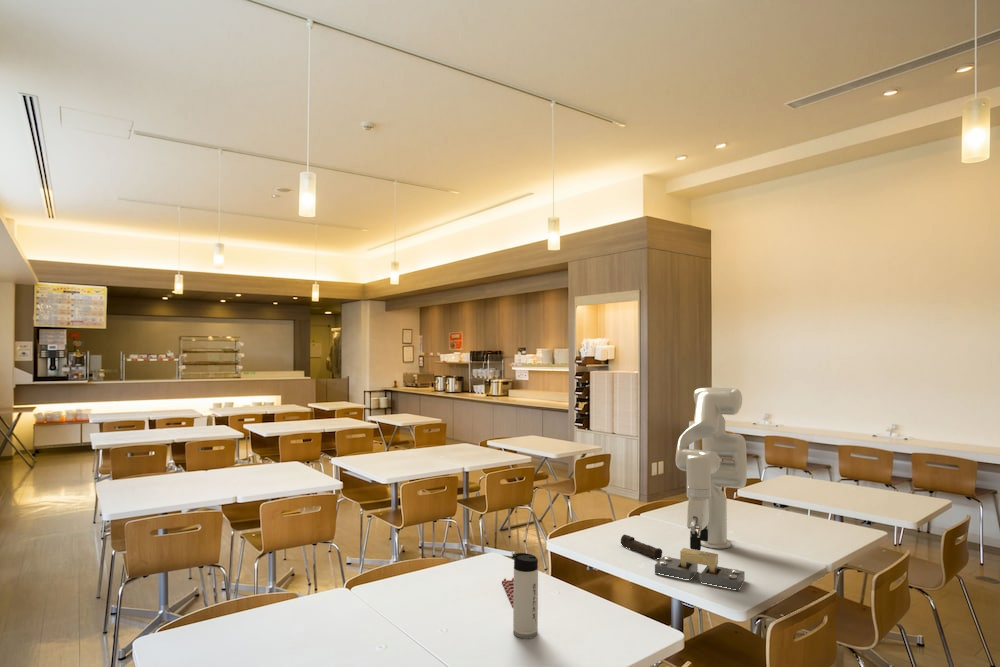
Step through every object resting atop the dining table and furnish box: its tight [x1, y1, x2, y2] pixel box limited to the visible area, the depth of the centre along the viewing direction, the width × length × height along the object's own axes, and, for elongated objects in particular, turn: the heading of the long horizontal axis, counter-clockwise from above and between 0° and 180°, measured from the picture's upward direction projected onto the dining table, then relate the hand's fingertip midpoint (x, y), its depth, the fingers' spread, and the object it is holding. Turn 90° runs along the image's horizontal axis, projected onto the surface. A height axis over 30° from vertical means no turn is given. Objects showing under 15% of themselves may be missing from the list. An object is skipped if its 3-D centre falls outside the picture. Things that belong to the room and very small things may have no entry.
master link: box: [679, 547, 719, 575], centre depth 192 cm, size 4×11×8 cm, turn 57°
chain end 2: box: [700, 565, 745, 591], centre depth 188 cm, size 10×11×4 cm
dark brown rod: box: [620, 534, 663, 560], centre depth 217 cm, size 19×4×5 cm, turn 30°
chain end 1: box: [654, 556, 699, 581], centre depth 196 cm, size 10×11×4 cm
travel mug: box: [511, 552, 539, 640], centre depth 152 cm, size 6×7×20 cm
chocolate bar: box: [501, 577, 514, 608], centre depth 177 cm, size 7×19×2 cm, turn 9°
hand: (699, 544), depth 193 cm, fingers open, 9 cm apart
